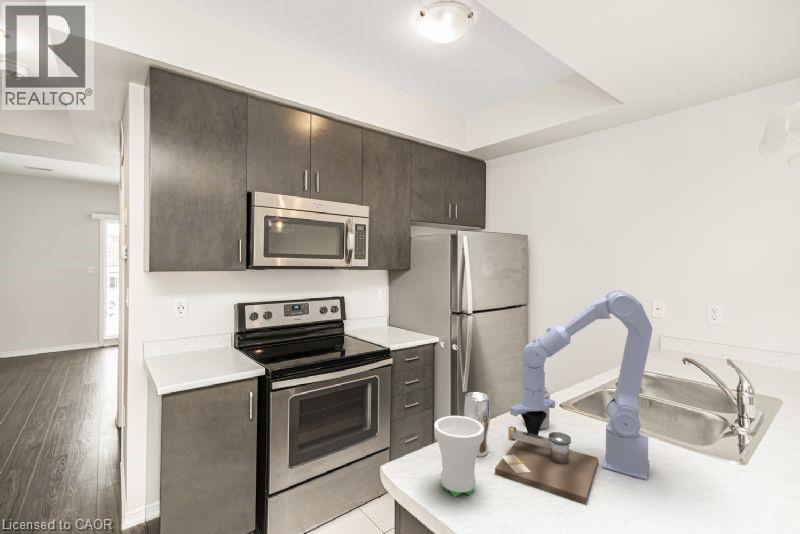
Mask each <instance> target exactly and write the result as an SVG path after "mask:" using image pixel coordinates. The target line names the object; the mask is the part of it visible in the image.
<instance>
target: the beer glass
mask: <svg viewBox="0 0 800 534" xmlns="http://www.w3.org/2000/svg"><path fill="white" fill-rule="evenodd" d="M491 408H492V407H491V396H490V395H489V394H487V393H484V392H482V391H481V392H479V391H471V392H467V393H465V397H464V408H463V409H464V410H463V411H464V413H463V414H464V415H463V416H464V417H469V418H472V419H475V420H477V421H478V422H480V423H481V424H482V425H483V427H484V440H483V442H482V443H481V445H480V447H479V450H478V453H477V457H479V458H481V457H486V456H487V455H488V454H489V447H488V446H489V445H488V433H489V428H490V423H491Z"/></svg>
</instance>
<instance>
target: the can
mask: <svg viewBox="0 0 800 534" xmlns="http://www.w3.org/2000/svg"><path fill="white" fill-rule="evenodd" d="M545 399H551V397H550V393H549V391H548V388H547V387H546V386H545ZM543 411H544V412H546V413H547V417H546V418H545V419H544V421H543V423H542V425H541V427H540V430H545V429H546V428H547V427H549V426H550V408H546V409H544V410H543Z"/></svg>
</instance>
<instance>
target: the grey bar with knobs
mask: <svg viewBox="0 0 800 534" xmlns="http://www.w3.org/2000/svg"><path fill="white" fill-rule="evenodd" d="M507 433H508V434H507V435H508V440H509V441H511V442H514V441H515V442H516V441H517V440H520V441H523V442H527V443H531V444H534V445H538V446H542V447H545V448H549V449H550V458H551V460H553V461H555V462H557V463H568V462H569V450H570V444H571V443H572V437H571V436H570V435H569V434H567V433H564V432H558V431H553V432H550V433H548V437H546V436H541V435H539V434H538V435H534V434H530V433H527V431H523V430H518V429H517V428H516V427H515V426H513V425H512V426H508V432H507Z"/></svg>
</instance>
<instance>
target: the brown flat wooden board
mask: <svg viewBox="0 0 800 534" xmlns="http://www.w3.org/2000/svg"><path fill="white" fill-rule="evenodd" d="M500 458H501V460H500V461H499V462H498V464H497V465H496V467H495V468H494V475H496V476H500V477H502V478H506V479H508V480H512V481H515V482H517V483H520V484H523V485H526V486H530V487H532V488H535V489H538V490H541V491H544V492H546V493H550V494H553V495H556V496H558V497H562V498H565V499H567V500H571V501H573V502H576V503H579V504H583V505H585V506H587V503H588V500H589V496H590V493H591V490H592V487H593V486H592V485H593V483H594V479H595V476H596V472H597V469H598V465H599V457H598V456H594V455H591V454H587V453H583V452H579V451H576V450H571V449H569V462H568V463H557V462H555V461H553V460H551V458H550V449H549V448H545V447H542V446H538V445H534V444H531V443H527V442H523V441H520V440H515V442H514V444H512V446H511V447H510V448H509V449H508V451H507V452H506V454H505V455H501V456H500Z"/></svg>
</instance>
